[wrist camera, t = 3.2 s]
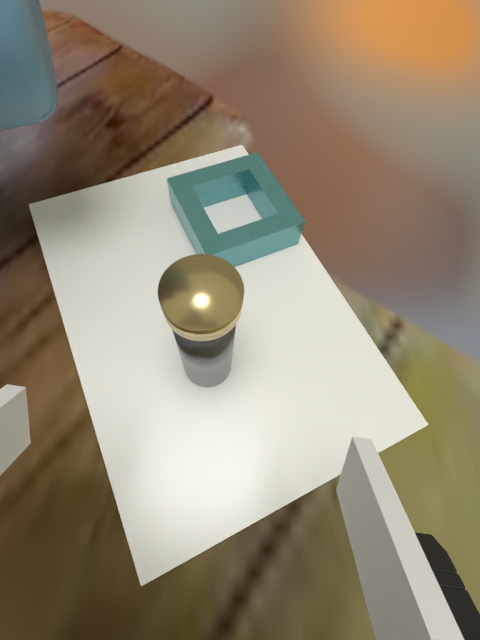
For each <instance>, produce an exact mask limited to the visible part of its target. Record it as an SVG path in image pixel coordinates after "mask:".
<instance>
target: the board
mask: <svg viewBox="0 0 480 640" xmlns="http://www.w3.org/2000/svg"><path fill="white" fill-rule="evenodd" d="M246 155H249V154H248V153H247V151H246V150H245V148H244V147H243V145H240V146H236V147H233V148H229V149H226V150H222V151H218V152H215V153H211V154H208V155H204V156H200V157H197V158H193V159H190V160H186V161H183V162H179V163H175V164H172V165H168V166H165V167H161V168H157V169H154V170H150V171H147V172H143V173H139V174H136V175H132V176H129V177H125V178H121V179H118V180H114V181H111V182H107V183H103V184H100V185H96V186H93V187H89V188H86V189H82V190H78V191H75V192H71V193H68V194H64V195H60V196H57V197H53V198H50V199H46V200H42V201H39V202H35V203H32V204H29V208H30V211H31V214H32V218H33V221H34V225H35V228H36V231H37V235H38V238H39V242H40V245H41V248H42V252H43V255H44V259H45V262H46V265H47V269H48V272H49V276H50V279H51V282H52V286H53V289H54V293H55V296H56V299H57V303H58V306H59V310H60V313H61V316H62V320H63V323H64V327H65V330H66V333H67V337H68V340H69V343H70V347H71V350H72V354H73V357H74V360H75V364H76V367H77V371H78V374H79V377H80V381H81V384H82V388H83V391H84V394H85V398H86V401H87V405H88V408H89V411H90V415H91V418H92V422H93V425H94V428H95V432H96V435H97V439H98V442H99V445H100V449H101V452H102V456H103V459H104V462H105V466H106V469H107V473H108V476H109V479H110V483H111V486H112V490H113V493H114V496H115V500H116V503H117V507H118V510H119V513H120V517H121V520H122V524H123V527H124V530H125V534H126V537H127V541H128V544H129V547H130V551H131V554H132V558H133V561H134V564H135V568H136V571H137V575H138V578H139V581H140V585H141V586H143V585H145V584H147V583H148V582H150V581H152V580H154V579H155V578H157V577H159V576H161V575H163V574H164V573H166V572H168V571H170V570H171V569H173V568H175V567H177V566H179V565H180V564H182V563H184V562H186V561H187V560H189V559H191V558H193V557H194V556H196V555H198V554H200V553H202V552H203V551H205V550H207V549H209V548H210V547H212V546H214V545H216V544H218V543H219V542H221V541H223V540H225V539H226V538H228V537H230V536H232V535H234V534H235V533H237V532H239V531H241V530H242V529H244V528H246V527H248V526H249V525H251V524H253V523H255V522H257V521H258V520H260V519H262V518H264V517H265V516H267V515H269V514H271V513H273V512H274V511H276V510H278V509H280V508H281V507H283V506H285V505H287V504H289V503H290V502H292V501H294V500H296V499H297V498H299V497H301V496H303V495H305V494H306V493H308V492H310V491H312V490H313V489H315V488H317V487H319V486H320V485H322V484H324V483H326V482H328V481H329V480H331V479H333V478H335V477H336V476H338V475H340V474H341V472H342V469H343V465H344V462H345V459H346V455H347V452H348V449H349V446H350V442H351V439H352V436H353V437H360V438H366V439H372V442H373V444H374V446H375V448H376V450H377V452H378V453H379V452H381V451H383V450H384V449H386V448H388V447H390V446H391V445H393V444H395V443H397V442H399V441H400V440H402V439H404V438H406V437H407V436H409V435H411V434H413V433H415V432H416V431H418V430H420V429H422V428H423V427H425V426H427V425H428V423H427V422H426V420H425V419H424V417H423V416H422V414H421V413H420V411H419V410H418V408H417V407H416V405H415V404H414V402H413V401H412V399H411V398H410V396H409V395H408V393H407V392H406V390H405V389H404V387H403V386H402V384H401V383H400V381H399V380H398V378H397V377H396V375H395V374H394V372H393V371H392V369H391V368H390V366H389V365H388V363H387V362H386V360H385V359H384V357H383V356H382V354H381V353H380V351H379V350H378V348H377V347H376V345H375V344H374V342H373V341H372V339H371V338H370V336H369V335H368V333H367V332H366V330H365V329H364V327H363V326H362V324H361V323H360V321H359V320H358V318H357V317H356V315H355V314H354V312H353V311H352V309H351V308H350V306H349V305H348V303H347V302H346V300H345V299H344V297H343V296H342V294H341V293H340V291H339V290H338V288H337V287H336V285H335V284H334V282H333V281H332V279H331V278H330V276H329V275H328V273H327V272H326V270H325V269H324V267H323V266H322V264H321V263H320V261H319V260H318V258H317V257H316V255H315V254H314V252H313V251H312V249H311V248H310V246H309V245H308V243H307V242H306V240H305V239H304V237H303V236H302V234H301V236H300V239H299V242H298V244H297V245H294V246H291V247H288V248H286V249H283V250H280V251H278V252H275V253H272V254H269V255H267V256H264V257H261V258H258V259H256V260H253V261H250V262H248V263H245V264H242V265H239V266H237V267H235V269H236V270H237V271H238V272H239V274H240V276H241V278H242V281H243V284H244V298H243V305H242V312H241V315H240V318H239V320H238V322H237V324H236V330H235V338H234V347H233V355H232V363H231V370H230V373H229V375H228V377H227V378H226V379H225V380H224V381H223V382H222V383H221V384H219V385H217V386H214V387H200V386H198V385H196V384H194V383H193V382H191V381H190V380H189V378H188V377H187V375H186V373H185V370H184V366H183V363H182V360H181V357H180V353H179V350H178V347H177V343H176V340H175V337H174V333H173V330H172V329H171V328H170V327H169V325H168V324H167V322H166V320H165V318H164V315H163V312H162V309H161V306H160V303H159V299H158V285H159V281H160V279H161V276H162V275H163V273H164V272H165V270H166V269H167V268H168V267H169V266H170V265H171V264H173V263H174V262H175V261H177V260H179V259H181V258H183V257H186V256H189V255H194V254H196V252H195V250H194V248H193V246H192V244H191V243H190V241H189V239H188V237H187V235H186V233H185V231H184V229H183V227H182V225H181V223H180V221H179V219H178V217H177V215H176V213H175V211H174V209H173V207H172V205H171V202H170V196H169V190H168V184H167V178H170V177H173V176H177V175H180V174H184V173H187V172H191V171H194V170H198V169H201V168H204V167H208V166H211V165H215V164H218V163H222V162H225V161H229V160H232V159H236V158H239V157H243V156H246ZM204 209H205V211H206V213H207V215H208V217H209V218H210V220H211V222H212V224H213V226H214V228H215V229H216V231H217V233H218V234H219V233H222V232H225V231H228V230H231V229H234V228H237V227H240V226H243V225H246V224H249V223H252V222H255V221H258V220H261V219H262V218H261V216H260V214H259V213H258V211H257V210H256V208H255V206H254V205H253V203H252V202H251V200H250V198H249V197H248V195H247V194H245V195H242V196H239V197H236V198H233V199H230V200H226V201H223V202H220V203H217V204H214V205H211V206H207V207H204Z"/></svg>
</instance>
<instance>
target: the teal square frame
mask: <svg viewBox="0 0 480 640" xmlns="http://www.w3.org/2000/svg"><path fill="white" fill-rule="evenodd" d="M167 184H168V190H169V196H170V202H171V205H172V207H173V209H174V211H175V213H176V215H177V217H178V219H179V221H180V223H181V225H182V227H183V229H184V231H185V233H186V235H187V237H188V239H189V241H190V243H191V244H192V246H193V248H194V250H195V252H196V254H209V255H214V256H217V257H220V258H222V259H224V260H226V261H227V262H229V263H230V264H231V265H233V266H234V267H237V266H239V265H242V264H245V263H248V262H250V261H253V260H256V259H258V258H261V257H264V256H267V255H269V254H272V253H275V252H278V251H280V250H283V249H286V248H288V247H291V246H294V245H297V244H298V242H299V239H300V236H301V233H302V230H303V227H304V224H305V221H304V219H303V218H302V217H301V215H300V214H299V212H298V211H297V209H296V208H295V206H294V205H293V203H292V202H291V200H290V199H289V197H288V196H287V195H286V193H285V192H284V190H283V189H282V187H281V186H280V184H279V183H278V181H277V180H276V178H275V177H274V176H273V174H272V173H271V171H270V170H269V168H268V167H267V165H266V164H265V162H264V161H263V159H262V158H261V156H260V155H259V153H258V152H257V153H253V154H250V155H246V156H243V157H239V158H236V159H232V160H229V161H225V162H222V163H218V164H215V165H211V166H208V167H204V168H201V169H198V170H194V171H191V172H187V173H184V174H180V175H177V176H173V177H170V178H167ZM245 194H247V195H248V197H249V198H250V200H251V202H252V203H253V205H254V206H255V208H256V210H257V211H258V213H259V214H260V216H261V218H262V219H261V220H258V221H255V222H252V223H249V224H246V225H243V226H240V227H237V228H234V229H231V230H228V231H225V232H222V233H219V234H218V233H217V231H216V229H215V228H214V226H213V224H212V222H211V220H210V218H209V217H208V215H207V213H206V211H205V209H204V207H207V206H211V205H214V204H217V203H220V202H223V201H226V200H230V199H233V198H236V197H239V196H242V195H245Z"/></svg>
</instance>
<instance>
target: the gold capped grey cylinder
mask: <svg viewBox="0 0 480 640" xmlns="http://www.w3.org/2000/svg"><path fill="white" fill-rule="evenodd" d="M243 298H244V284H243V281H242V278H241V276H240V274H239V272H238V271H237V270H236V269H235V267H234V266H233V265H231V264H230V263H229V262H227V261H226V260H224V259H222V258H220V257H217V256H214V255H209V254H194V255H189V256H186V257H183V258H181V259H179V260H177V261H175V262H174V263H173V264H171V265H170V266H169V267H168V268H167V269H166V270H165V272H164V273H163V275H162V276H161V279H160V281H159V285H158V299H159V303H160V306H161V309H162V312H163V315H164V318H165V320H166V322H167V324H168V325H169V327H170V328H171V329H172V330H173V333H174V337H175V340H176V343H177V347H178V350H179V353H180V357H181V360H182V363H183V366H184V370H185V373H186V375H187V377H188V378H189V380H190V381H191V382H193V383H194V384H196V385H198V386H200V387H214V386H217V385H219V384H221V383H222V382H223V381H224V380H225V379H226V378H227V377H228V375H229V373H230V370H231V363H232V355H233V347H234V338H235V330H236V324H237V322H238V320H239V318H240V315H241V312H242V305H243Z"/></svg>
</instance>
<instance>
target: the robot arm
mask: <svg viewBox="0 0 480 640" xmlns="http://www.w3.org/2000/svg"><path fill="white" fill-rule="evenodd" d="M57 100H58V90H57V81H56V75H55V70H54V65H53V59H52V54H51V50H50V45H49V40H48V35H47V31H46V27H45V22H44V18H43V13H42V9H41V5H40V1H39V0H0V130H6V129H11V128H16V127H22V126H27V125H32V124H37V123H41V122H43V121H45V120H47V119H48V118H49V117H50V116H51V115H52V114H53V112H54V111H55V108H56V105H57ZM29 444H30V431H29V419H28V407H27V396H26V387H21V386H14V385H8V384H7V385H5V386H4V387H3V388H1V389H0V475H1V474H2V473H3V472H4V471H5V470H6V469H7V468H8V467H9V466H10V465H11V464H12V463H13V462H14V460H15V459H16V458H17V457H18V456H19V455H20V454H21V453H22V452H23V451H24V450H25V449H26V448H27V447H28V446H29ZM336 491H337V495H338V498H339V502H340V506H341V510H342V514H343V518H344V521H345V525H346V529H347V533H348V537H349V540H350V544H351V548H352V552H353V556H354V559H355V563H356V567H357V571H358V575H359V578H360V582H361V586H362V590H363V594H364V598H365V601H366V605H367V609H368V613H369V617H370V620H371V624H372V628H373V632H374V636H375V639H376V640H480V614H479V612H478V610H477V608H476V607H475V605H474V603H473V601H472V599H471V597H470V595H469V593H468V591H466V590H465V586H464V584H463V582H462V580H461V578H460V576H459V575H458V574H457V572H456V569H455V567H454V565H453V563H452V561H451V559H450V557H449V556H448V554H447V552H446V551H445V550H444V548H443V547H442V546H441V545H440V544H439V543H438V542H437V541H436V539H435V538H434V537H433V536H432V535H429V534H422V533H416V532H414V530H413V528H412V526H411V524H410V521H409V519H408V517H407V515H406V513H405V511H404V508H403V506H402V504H401V502H400V500H399V498H398V495H397V493H396V491H395V489H394V487H393V485H392V483H391V480H390V478H389V476H388V474H387V472H386V470H385V467H384V465H383V463H382V461H381V459H380V457H379V455H378V452H377V450H376V448H375V446H374V444H373V442H372V439H366V438H360V437H353V436H352V439H351V442H350V446H349V449H348V452H347V455H346V459H345V462H344V465H343V469H342V472H341V475H340V479H339V482H338V485H337V488H336Z"/></svg>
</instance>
